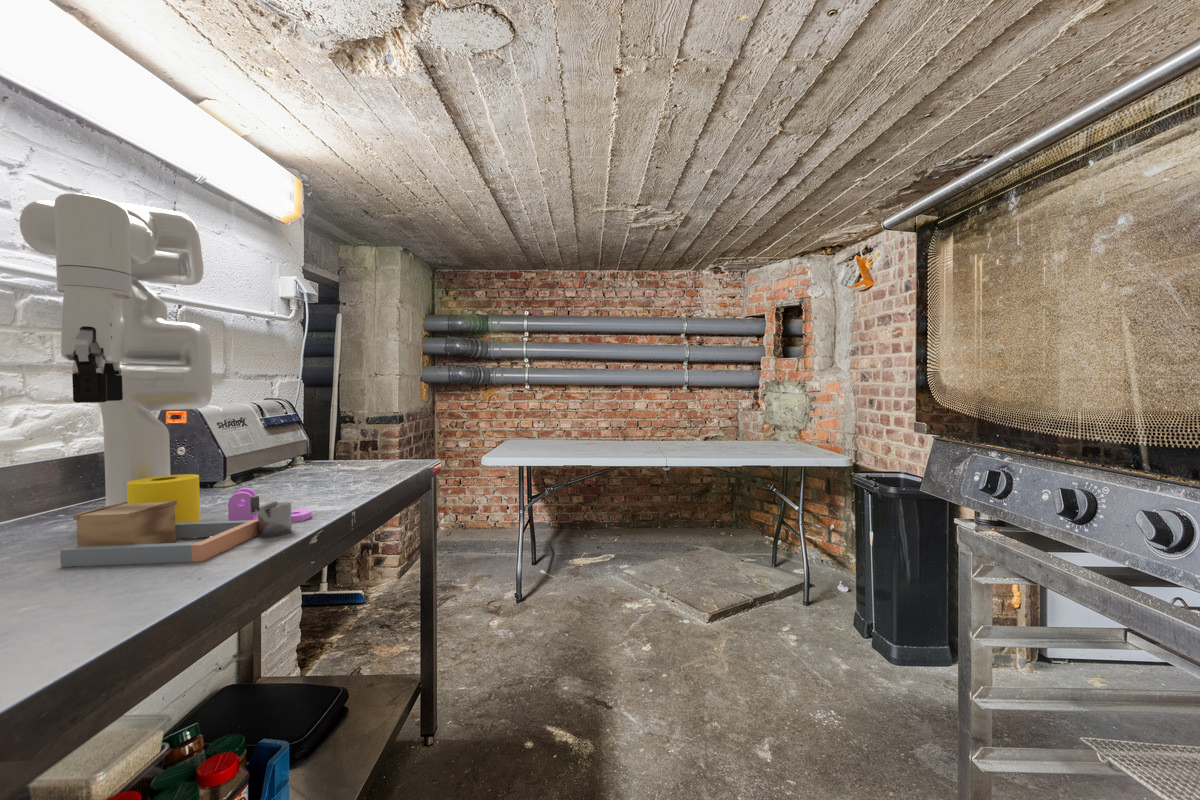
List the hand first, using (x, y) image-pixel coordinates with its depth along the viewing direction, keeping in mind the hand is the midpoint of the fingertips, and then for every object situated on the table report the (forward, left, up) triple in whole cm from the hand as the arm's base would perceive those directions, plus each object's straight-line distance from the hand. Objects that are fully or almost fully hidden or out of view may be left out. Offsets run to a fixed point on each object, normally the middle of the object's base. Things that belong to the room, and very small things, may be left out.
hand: (99, 401), depth 70 cm
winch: (-12, +16, -24) cm, 32 cm away
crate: (-7, -2, -25) cm, 26 cm away
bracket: (-22, +11, -25) cm, 35 cm away
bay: (-7, +3, -24) cm, 25 cm away
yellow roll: (-20, -7, -25) cm, 32 cm away
